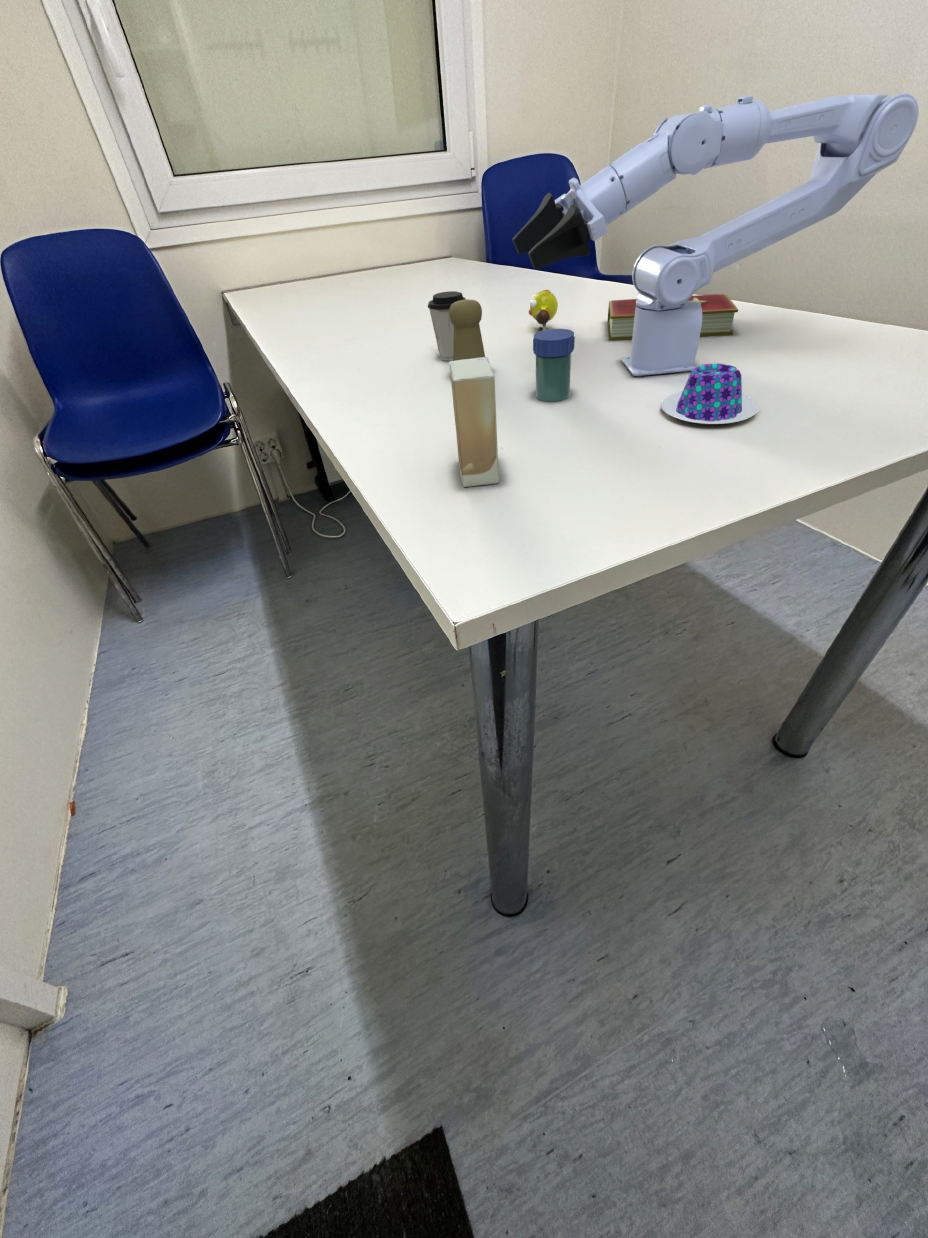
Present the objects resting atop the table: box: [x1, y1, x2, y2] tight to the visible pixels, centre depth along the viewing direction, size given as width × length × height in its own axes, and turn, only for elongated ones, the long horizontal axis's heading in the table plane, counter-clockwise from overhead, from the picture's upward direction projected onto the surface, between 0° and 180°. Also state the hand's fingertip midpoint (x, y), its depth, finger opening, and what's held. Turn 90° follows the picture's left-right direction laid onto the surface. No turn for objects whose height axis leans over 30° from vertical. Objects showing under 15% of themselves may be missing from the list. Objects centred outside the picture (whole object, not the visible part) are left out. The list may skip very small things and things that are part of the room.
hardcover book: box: [606, 293, 739, 341], centre depth 100 cm, size 12×21×4 cm, turn 81°
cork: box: [449, 298, 486, 361], centre depth 88 cm, size 6×6×11 cm
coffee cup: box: [427, 290, 467, 362], centre depth 96 cm, size 7×7×10 cm
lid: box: [532, 328, 576, 357], centre depth 76 cm, size 6×6×2 cm
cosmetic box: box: [449, 356, 500, 488], centre depth 61 cm, size 6×4×12 cm
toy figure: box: [528, 289, 559, 332], centre depth 105 cm, size 18×6×7 cm, turn 172°
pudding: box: [660, 362, 760, 425], centre depth 70 cm, size 12×12×5 cm
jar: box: [535, 353, 572, 403], centre depth 79 cm, size 5×5×8 cm
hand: (523, 253), depth 74 cm, fingers open, 7 cm apart
